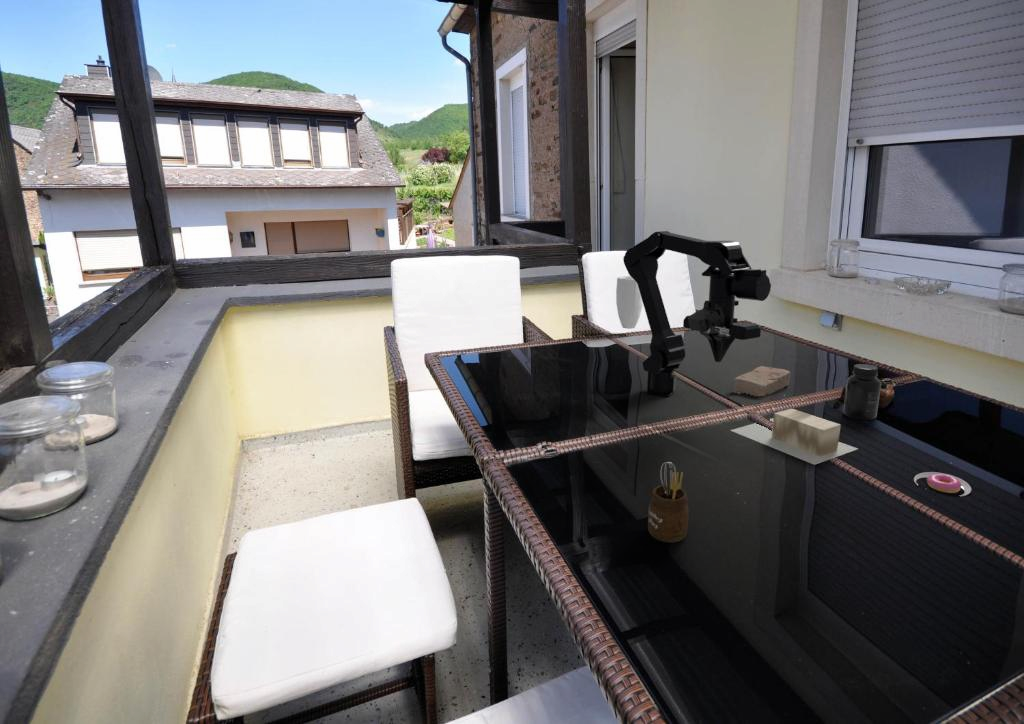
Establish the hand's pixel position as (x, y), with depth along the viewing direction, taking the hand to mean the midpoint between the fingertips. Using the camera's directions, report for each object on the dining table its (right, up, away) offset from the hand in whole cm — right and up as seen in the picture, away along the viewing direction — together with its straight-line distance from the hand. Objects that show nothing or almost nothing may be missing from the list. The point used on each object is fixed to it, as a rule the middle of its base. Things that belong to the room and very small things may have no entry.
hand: (718, 361), depth 140 cm
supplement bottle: (+32, -13, -2) cm, 35 cm away
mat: (+10, -17, -16) cm, 25 cm away
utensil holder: (-25, -27, -49) cm, 61 cm away
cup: (-5, +10, +81) cm, 82 cm away
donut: (+28, -22, -34) cm, 50 cm away
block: (+8, -13, -15) cm, 21 cm away
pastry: (+40, -10, +8) cm, 42 cm away
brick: (+18, -8, +17) cm, 26 cm away
